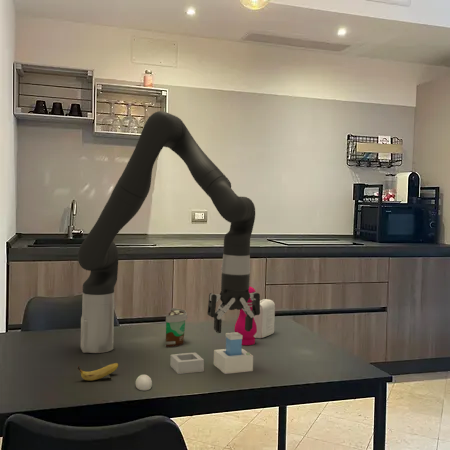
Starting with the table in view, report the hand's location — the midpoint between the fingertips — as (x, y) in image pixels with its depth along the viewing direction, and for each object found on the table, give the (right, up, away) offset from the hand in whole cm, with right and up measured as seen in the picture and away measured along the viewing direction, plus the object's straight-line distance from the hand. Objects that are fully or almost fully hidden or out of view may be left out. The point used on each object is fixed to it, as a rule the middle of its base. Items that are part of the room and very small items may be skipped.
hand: (233, 331), depth 142 cm
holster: (-12, -10, -1) cm, 16 cm away
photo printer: (+11, -9, +40) cm, 42 cm away
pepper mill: (+4, -10, +29) cm, 31 cm away
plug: (0, -10, 0) cm, 10 cm away
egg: (-22, -11, -16) cm, 29 cm away
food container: (-17, -9, +27) cm, 33 cm away
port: (0, -11, +1) cm, 11 cm away
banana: (-34, -11, -9) cm, 37 cm away
